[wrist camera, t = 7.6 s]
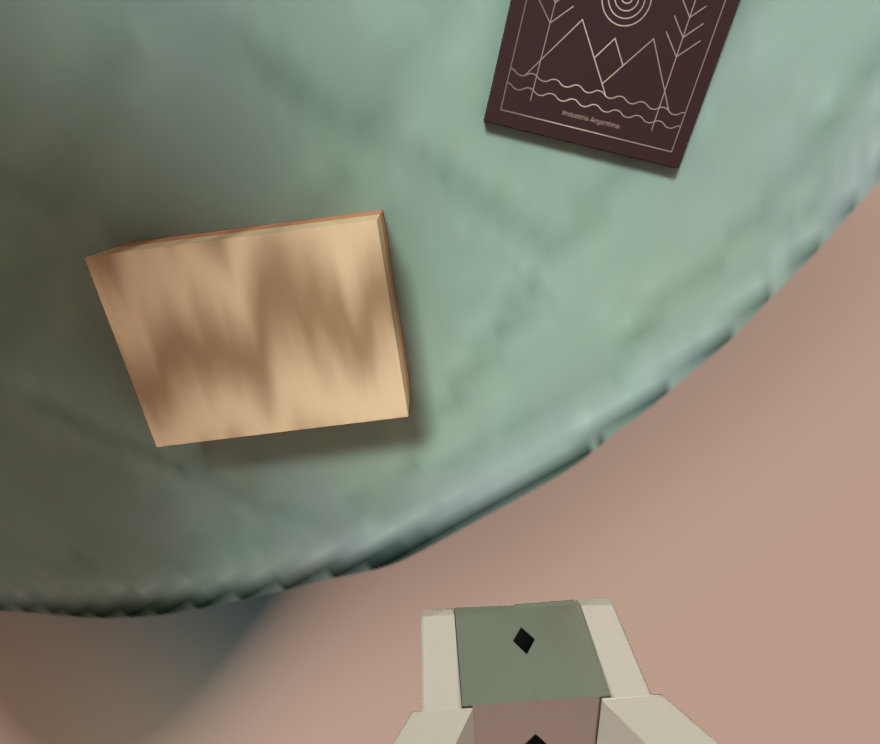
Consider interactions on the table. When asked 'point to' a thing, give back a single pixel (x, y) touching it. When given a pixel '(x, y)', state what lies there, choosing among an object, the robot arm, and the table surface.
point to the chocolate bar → (609, 72)
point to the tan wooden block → (258, 327)
